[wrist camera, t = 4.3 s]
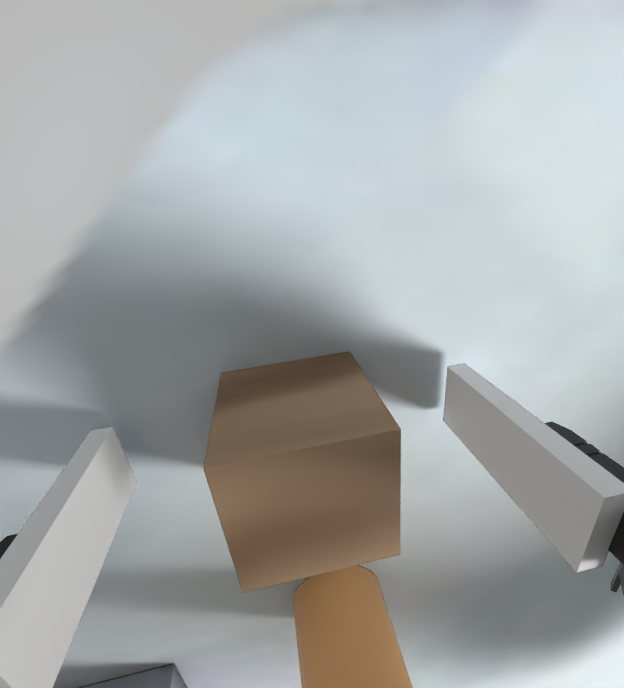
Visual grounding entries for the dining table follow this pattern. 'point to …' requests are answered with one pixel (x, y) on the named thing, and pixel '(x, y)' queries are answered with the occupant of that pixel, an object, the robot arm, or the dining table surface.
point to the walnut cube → (303, 470)
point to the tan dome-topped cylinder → (346, 633)
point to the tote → (147, 679)
